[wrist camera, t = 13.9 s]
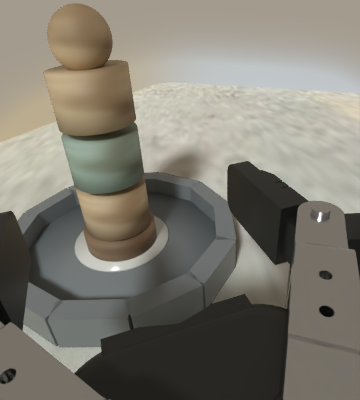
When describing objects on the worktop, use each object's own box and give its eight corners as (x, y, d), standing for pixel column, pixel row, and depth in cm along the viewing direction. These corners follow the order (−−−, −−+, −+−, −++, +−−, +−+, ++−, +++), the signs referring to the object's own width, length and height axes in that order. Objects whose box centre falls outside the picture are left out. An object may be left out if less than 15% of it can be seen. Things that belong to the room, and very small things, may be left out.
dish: (116, 180, 38) (112, 161, 36) (266, 220, 29) (268, 196, 28) (-39, 281, 25) (-54, 256, 24) (143, 405, 16) (136, 377, 15)
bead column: (119, 212, 30) (76, 4, 21) (169, 229, 27) (144, -3, 18) (72, 247, 26) (-3, 9, 17) (126, 271, 23) (67, 2, 14)
